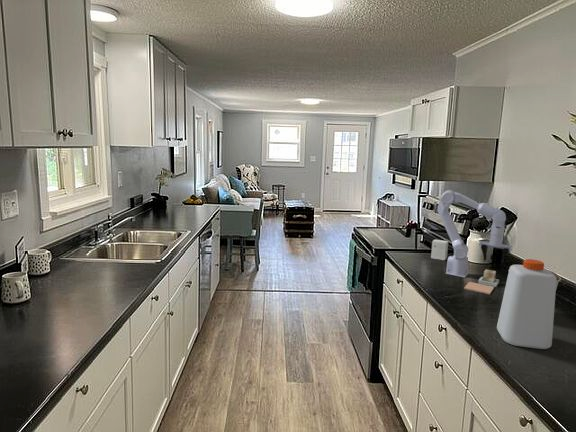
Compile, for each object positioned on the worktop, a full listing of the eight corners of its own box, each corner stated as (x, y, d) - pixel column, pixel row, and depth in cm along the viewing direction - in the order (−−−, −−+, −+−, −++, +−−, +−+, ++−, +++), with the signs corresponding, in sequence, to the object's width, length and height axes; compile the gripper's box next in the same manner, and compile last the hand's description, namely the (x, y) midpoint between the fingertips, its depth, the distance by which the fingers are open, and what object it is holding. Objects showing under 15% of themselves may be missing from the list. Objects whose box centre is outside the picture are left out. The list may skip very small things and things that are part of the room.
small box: (446, 258, 245) (448, 241, 244) (444, 260, 241) (446, 242, 239) (432, 256, 250) (434, 239, 248) (430, 258, 245) (432, 240, 243)
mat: (463, 288, 194) (464, 287, 194) (469, 282, 203) (469, 281, 203) (489, 294, 188) (489, 293, 188) (494, 288, 197) (494, 286, 196)
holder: (478, 283, 203) (478, 280, 203) (481, 279, 209) (481, 276, 209) (496, 286, 198) (496, 283, 198) (498, 282, 205) (499, 279, 204)
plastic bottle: (538, 332, 151) (550, 257, 146) (555, 352, 136) (568, 270, 131) (493, 326, 154) (503, 253, 149) (504, 345, 140) (516, 265, 135)
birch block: (482, 283, 203) (484, 271, 202) (484, 280, 207) (485, 269, 206) (492, 285, 201) (494, 273, 200) (494, 282, 204) (495, 271, 203)
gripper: (514, 235, 204) (510, 262, 207) (482, 231, 212) (479, 257, 215) (512, 238, 198) (508, 265, 201) (479, 233, 206) (476, 260, 209)
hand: (493, 261), depth 207 cm, fingers open, 7 cm apart
